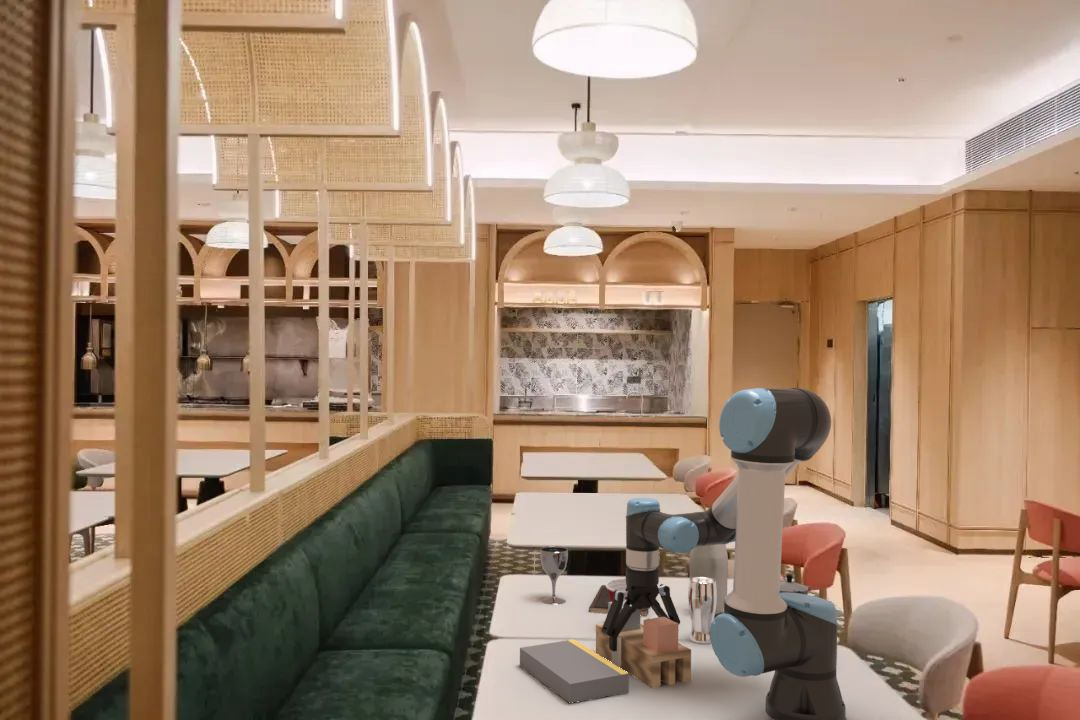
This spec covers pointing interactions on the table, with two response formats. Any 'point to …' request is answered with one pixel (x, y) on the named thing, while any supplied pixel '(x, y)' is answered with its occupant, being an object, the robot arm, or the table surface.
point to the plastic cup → (616, 587)
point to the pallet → (647, 658)
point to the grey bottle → (711, 568)
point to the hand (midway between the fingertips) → (641, 660)
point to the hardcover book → (605, 602)
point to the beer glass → (702, 607)
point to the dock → (574, 670)
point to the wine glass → (553, 568)
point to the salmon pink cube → (660, 634)
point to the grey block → (630, 619)
